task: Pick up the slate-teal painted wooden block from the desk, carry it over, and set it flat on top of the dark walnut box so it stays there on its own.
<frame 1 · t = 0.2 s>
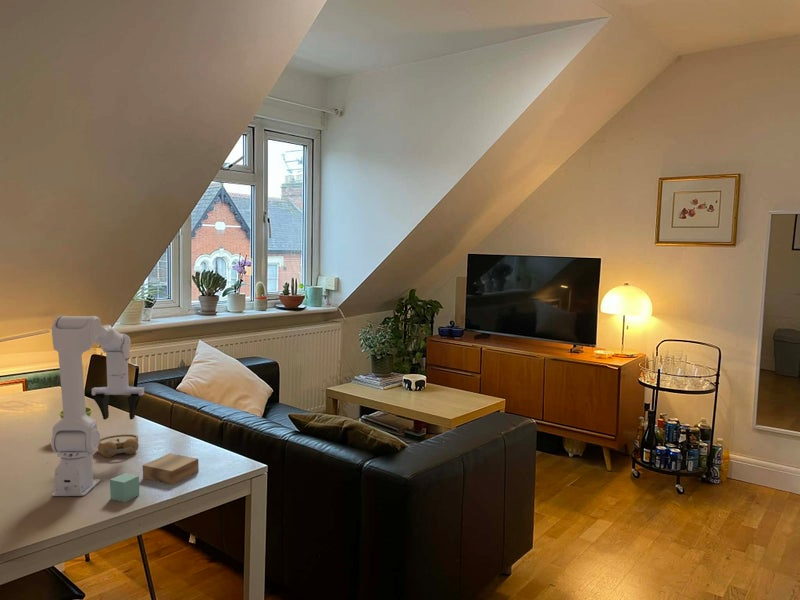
hand: (119, 418, 184), 10 cm above the table, tool pointing down, fingers open, 7 cm apart
teal block: (125, 497, 153), on the table
walnut box: (171, 476, 167), on the table
alarm clock: (118, 452, 185), on the table
plant pot: (76, 438, 196), on the table
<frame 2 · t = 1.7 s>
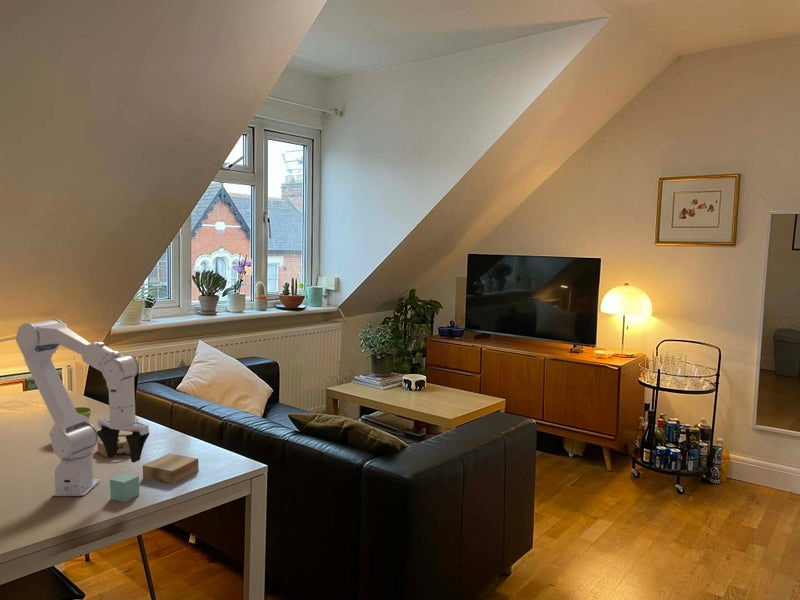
hand: (124, 458, 152), 9 cm above the table, tool pointing down, fingers open, 7 cm apart
nothing on the table moved.
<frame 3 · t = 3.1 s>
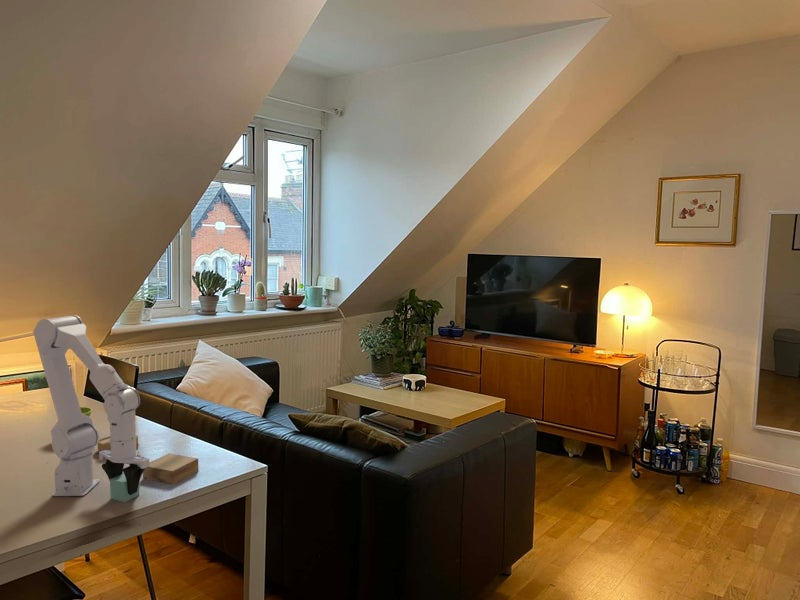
hand: (125, 491, 153), 1 cm above the table, tool pointing down, fingers closed on teal block, 5 cm apart
teal block: (125, 496, 153), on the table, touching gripper
everything else where it was.
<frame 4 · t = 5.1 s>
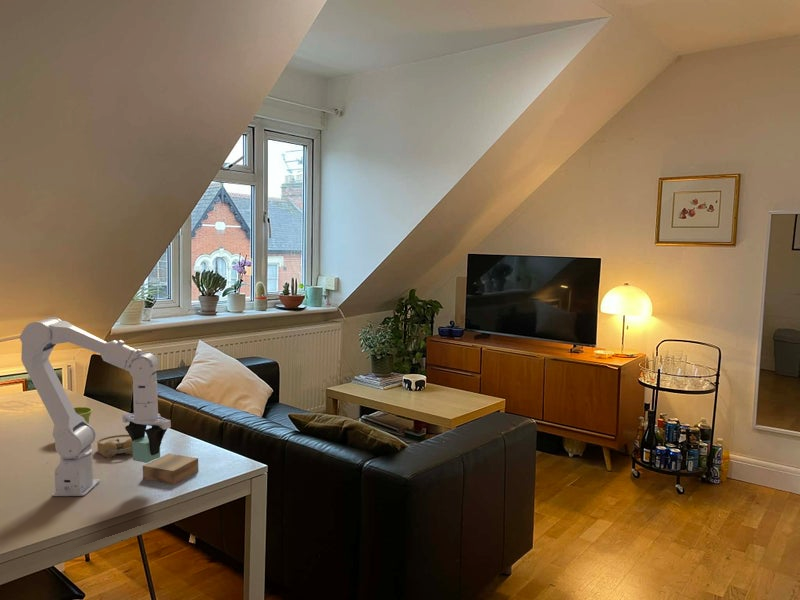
hand: (147, 452, 159), 9 cm above the table, tool pointing down, fingers closed on teal block, 5 cm apart
teal block: (146, 458, 158), point 7 cm above the table, touching gripper
everything else where it was.
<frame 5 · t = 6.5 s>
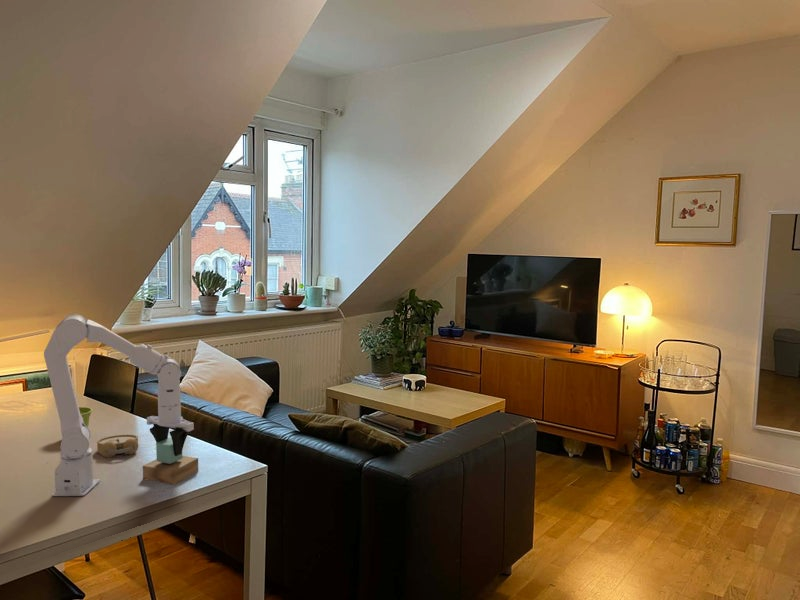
hand: (170, 453, 166), 6 cm above the table, tool pointing down, fingers closed on teal block, 5 cm apart
teal block: (169, 459, 166), point 4 cm above the table, touching gripper
everything else where it was.
when the fingers open (6 cm above the table, at t = 7.4 s): teal block stays where it is, resting on walnut box.
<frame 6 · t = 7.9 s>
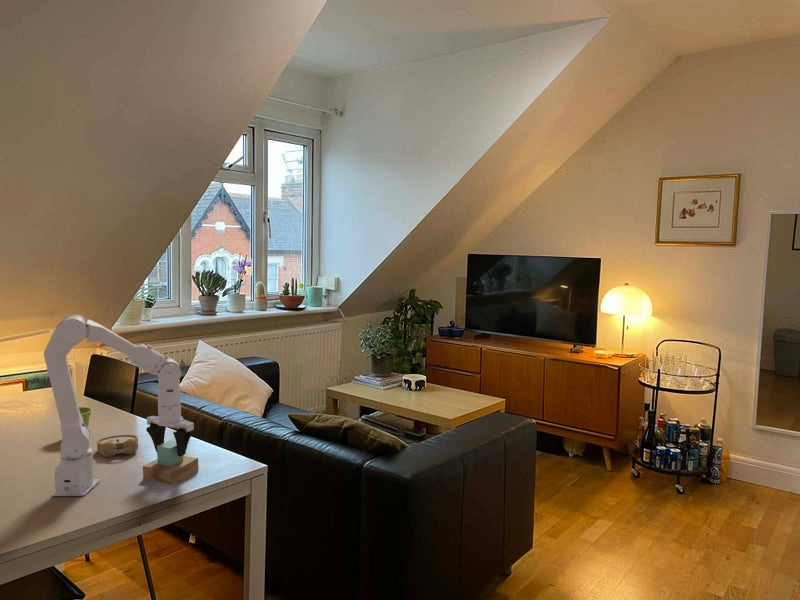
hand: (170, 453, 166), 6 cm above the table, tool pointing down, fingers open, 7 cm apart
teal block: (170, 462, 167), point 4 cm above the table, touching walnut box
walnut box: (171, 476, 167), on the table, touching teal block
everything else where it was.
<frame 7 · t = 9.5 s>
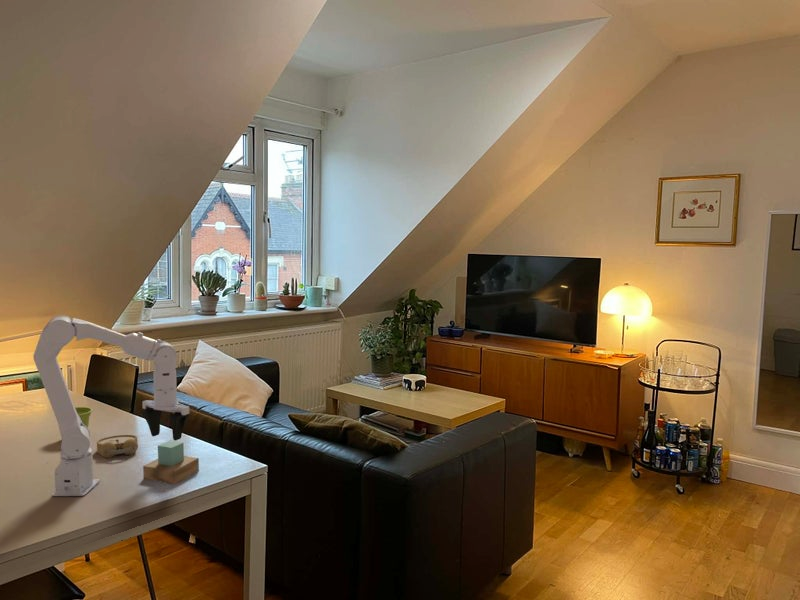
hand: (166, 437, 166), 10 cm above the table, tool pointing down, fingers open, 7 cm apart
nothing on the table moved.
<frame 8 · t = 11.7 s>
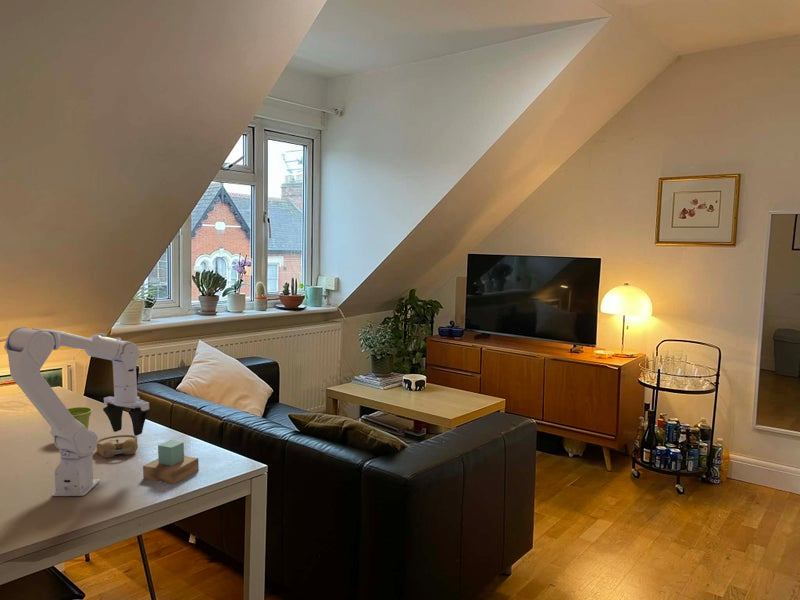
hand: (127, 432, 170), 10 cm above the table, tool pointing down, fingers open, 7 cm apart
teal block: (171, 461, 167), point 4 cm above the table
walnut box: (171, 476, 167), on the table
everything else where it was.
at the end: teal block 0.1 cm off-centre on the walnut box, point 4.0 cm above the walnut box's base; teal block tilted 0°; the gripper is holding nothing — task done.
